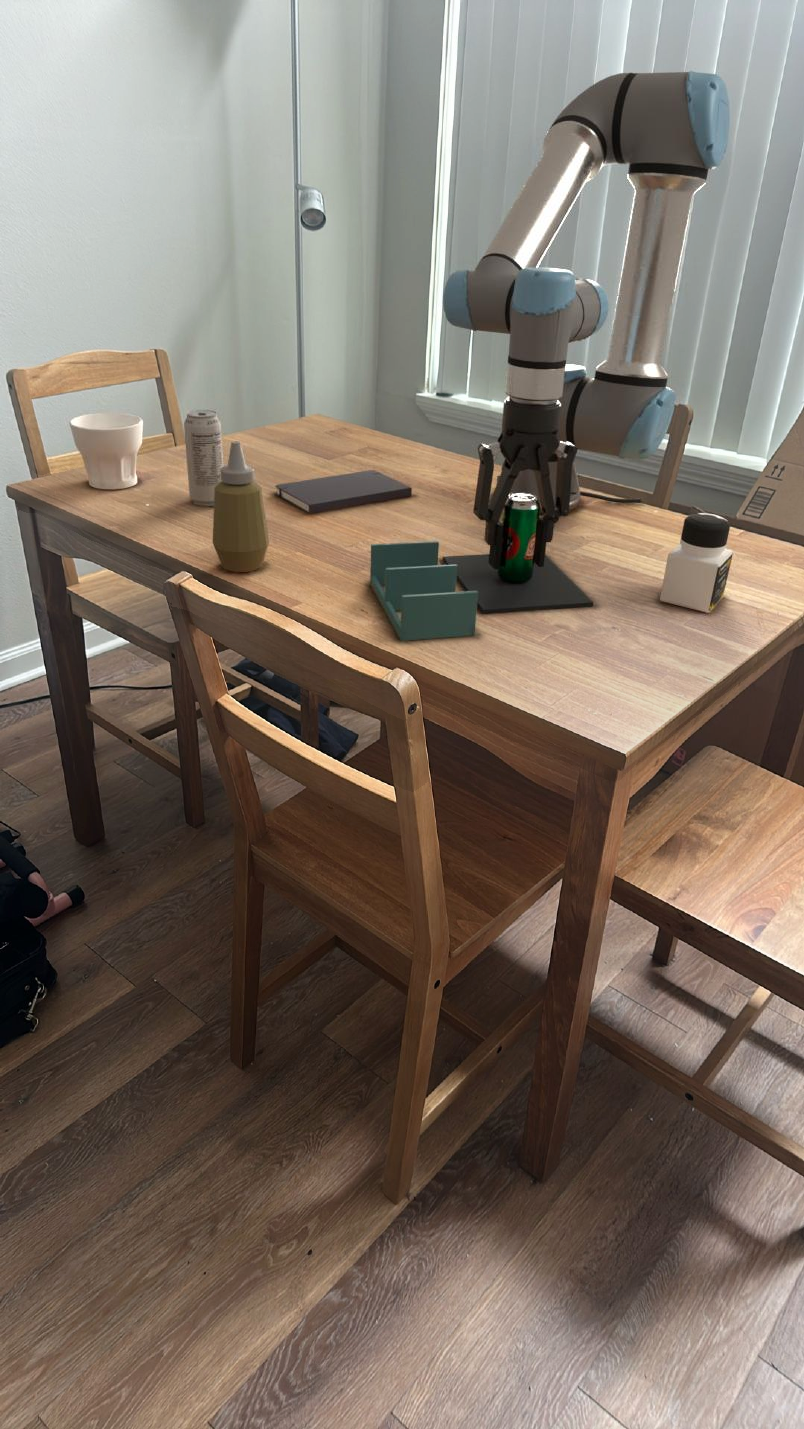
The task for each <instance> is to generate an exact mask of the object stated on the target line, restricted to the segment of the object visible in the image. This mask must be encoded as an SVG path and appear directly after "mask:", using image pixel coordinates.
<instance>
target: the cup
mask: <svg viewBox="0 0 804 1429" xmlns="http://www.w3.org/2000/svg"><path fill="white" fill-rule="evenodd" d="M68 423H69V428H70V430H71V435H72V438H73V441H74V446H75V447H76V449H77V451H78V452H79V453H80V455H81V458H82V460H83V464H84V467H85V471H86V474H87V476H88V484H89V486H90V487H92V488H94V489H97V490H102V491H103V490H105V491H107V490H108V491H112V490H113V491H116V490H124V489H128V488H131V487H133V486H135V485H137V483H138V476H137V472H136V470H137V456H138V452H139V450H140V448H141V446H142V444H143V430H144V428H143V427H144V421H143V419H142V418H141V417H140V416H137V415H134V414H129V413H122V412H97V413H88V414H81V415H79V416H75V417H73V418H72V419H70V420H69V421H68Z"/></svg>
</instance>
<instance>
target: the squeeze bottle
mask: <svg viewBox="0 0 804 1429" xmlns="http://www.w3.org/2000/svg"><path fill="white" fill-rule="evenodd" d="M220 473H221V482H220V483H218V484H217V485H216V486H215V493H214V506H213V518H212V519H213V520H212V522H213V523H212V545H213V548H214V550H215V552H216V555H217V557H218V559H219V562H220V564H221V567H222V568H223V569H225V571H230V572H235V573H246V572H247V573H248V572H253V571H257V570H258V569H260V568H262V566H263V564H264V560H265V557H266V554H267V551H268V548H269V545H270V539H269V531H268V525H267V518H266V512H265V504H264V503H265V502H264V496H263V490H262V486H261V485H260V484H259V483H258V482H257V481H255V469H254V467H253V466H251V465H247V464H246V459H245V456H244V452H243V448H242V444H241V442H240V441H238V440H233V441H231V443H230V449H229V455H228V461H227V464H226V465H223V467H222V468H221V469H220Z"/></svg>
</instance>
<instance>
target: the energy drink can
mask: <svg viewBox="0 0 804 1429" xmlns="http://www.w3.org/2000/svg"><path fill="white" fill-rule="evenodd" d="M183 429H184V430H183V431H184V442H185V453H186V454H185V455H186V456H185V457H186V468H187V481H188V493H189V499H191V500H192V501H193V504H194V505H197V506H200V507H214V493H215V486H216V485H217V484H218V483H220V482H221V473H220V469H221V468H222V467H224V454H223V438H222V423H221V421H220V419H219V418H218V416H217V412H216V411H215V410H210V409H193V410H189V411H187V412H186V418H185V420H184V422H183Z"/></svg>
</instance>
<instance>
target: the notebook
mask: <svg viewBox="0 0 804 1429" xmlns="http://www.w3.org/2000/svg"><path fill="white" fill-rule="evenodd" d="M274 486H275V488H276V492H275V495H276V496H277V497H279V498H281V499H283V500H285V501H287V502H288V503H290V504H292V505H293V506H294V507H297V508H298V509H300V510H302V511H304V512H306V513H308V514H315V513H320V512H321V513H322V512H326V511H331V510H337V509H343V508H349V507H355V506H361V505H366V504H367V505H368V504H372V503H377V502H384V501H389V500H394V499H395V500H396V499H401V498H406V497H412V496H413V495H412V493H413V487H412V486H410V485H407V484H405V483H403V482H401V481H399V480H398V479H397V480H396V479H394V478H392V477H390V476H388V475H386V474H383V473H382V472H379V471H377V470H373V469H371V470H363V471H357V472H349V473H343V474H337V475H331V476H325V477H318V478H311V479H305V480H298V481H291V482H285V483H280V484H279V483H278V484H275V485H274Z"/></svg>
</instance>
